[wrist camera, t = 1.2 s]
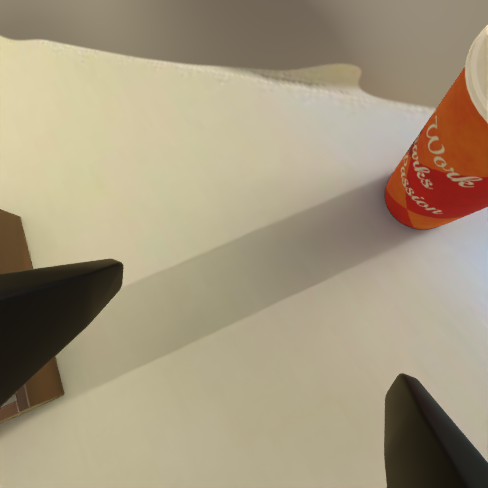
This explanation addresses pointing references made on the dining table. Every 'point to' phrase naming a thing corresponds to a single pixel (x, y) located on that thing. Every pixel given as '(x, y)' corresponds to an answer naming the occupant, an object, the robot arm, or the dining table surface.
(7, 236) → the caddy
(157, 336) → the dining table surface
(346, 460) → the dining table surface
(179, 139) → the dining table surface
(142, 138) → the dining table surface
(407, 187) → the paper cup
